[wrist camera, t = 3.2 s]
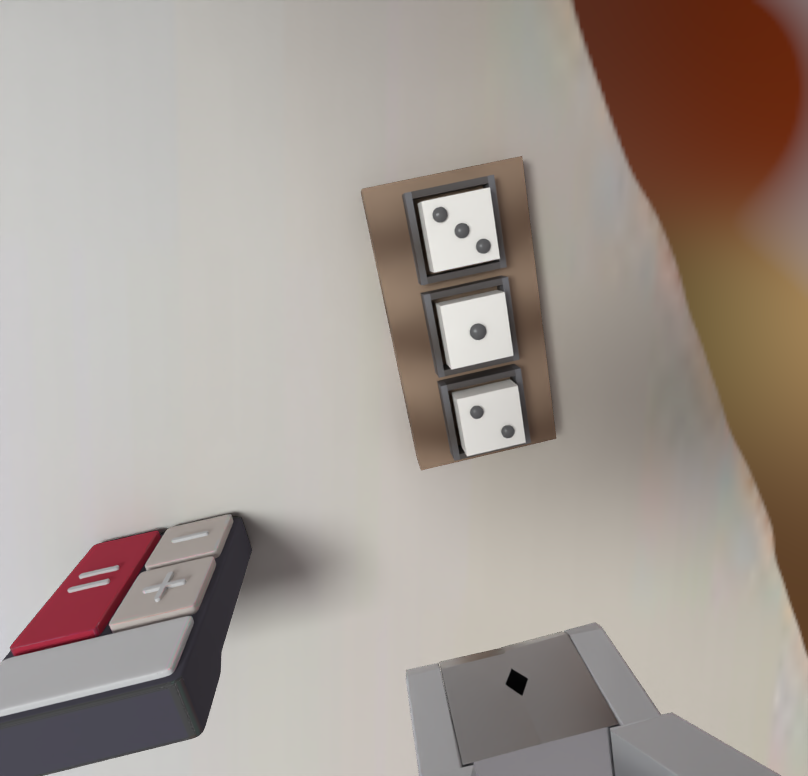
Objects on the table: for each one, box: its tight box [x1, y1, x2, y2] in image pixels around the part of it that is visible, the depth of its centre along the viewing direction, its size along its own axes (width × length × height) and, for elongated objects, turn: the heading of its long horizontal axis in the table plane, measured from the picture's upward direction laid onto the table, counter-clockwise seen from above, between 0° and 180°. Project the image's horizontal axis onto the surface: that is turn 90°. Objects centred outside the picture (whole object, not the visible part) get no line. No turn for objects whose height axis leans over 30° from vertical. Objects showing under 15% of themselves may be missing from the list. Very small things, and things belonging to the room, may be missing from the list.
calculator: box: [0, 514, 252, 776], centre depth 31 cm, size 11×4×15 cm, turn 101°
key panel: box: [361, 156, 556, 470], centre depth 34 cm, size 19×10×3 cm, turn 11°
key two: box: [452, 379, 526, 456], centre depth 34 cm, size 4×4×2 cm
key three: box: [418, 187, 500, 273], centre depth 30 cm, size 4×4×2 cm
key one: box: [436, 290, 514, 370], centre depth 32 cm, size 4×4×2 cm
